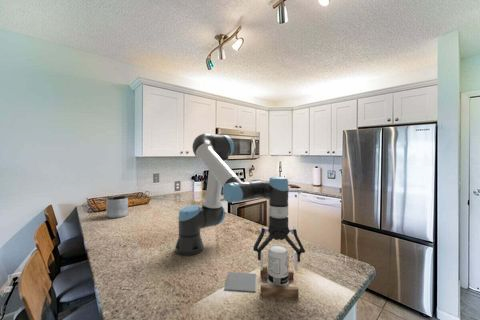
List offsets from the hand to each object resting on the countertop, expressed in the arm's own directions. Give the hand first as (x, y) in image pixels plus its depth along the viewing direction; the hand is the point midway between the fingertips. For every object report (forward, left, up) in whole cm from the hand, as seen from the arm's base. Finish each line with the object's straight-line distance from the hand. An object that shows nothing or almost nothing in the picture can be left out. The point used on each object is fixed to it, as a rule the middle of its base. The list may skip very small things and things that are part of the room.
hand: (278, 268), depth 85 cm
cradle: (0, 0, -7) cm, 7 cm away
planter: (-128, +84, -7) cm, 154 cm away
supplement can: (0, 0, -7) cm, 7 cm away
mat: (-15, +1, -7) cm, 17 cm away
